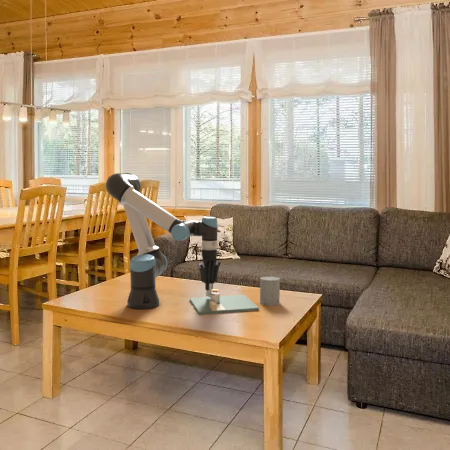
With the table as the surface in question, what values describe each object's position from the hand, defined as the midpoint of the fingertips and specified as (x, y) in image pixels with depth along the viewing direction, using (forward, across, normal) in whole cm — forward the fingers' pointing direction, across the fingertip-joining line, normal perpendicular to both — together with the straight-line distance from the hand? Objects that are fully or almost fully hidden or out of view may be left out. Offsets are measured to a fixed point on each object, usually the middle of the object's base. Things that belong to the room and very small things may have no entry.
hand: (209, 296), depth 241 cm
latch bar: (+1, 0, -5) cm, 5 cm away
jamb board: (+2, +1, -10) cm, 10 cm away
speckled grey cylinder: (+2, +20, -22) cm, 30 cm away
